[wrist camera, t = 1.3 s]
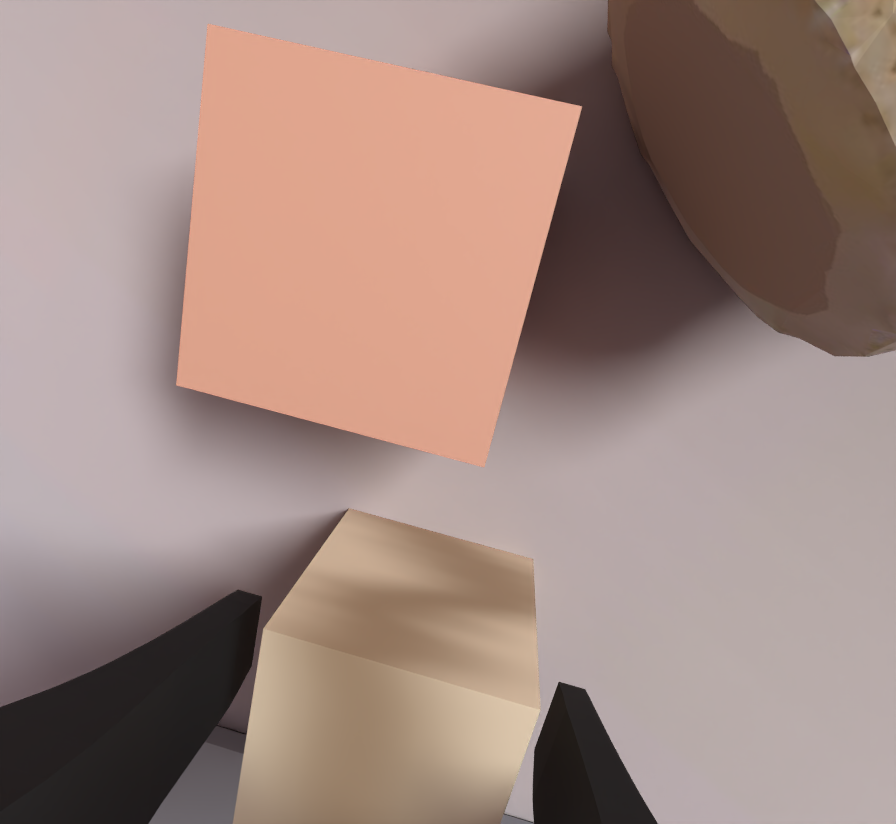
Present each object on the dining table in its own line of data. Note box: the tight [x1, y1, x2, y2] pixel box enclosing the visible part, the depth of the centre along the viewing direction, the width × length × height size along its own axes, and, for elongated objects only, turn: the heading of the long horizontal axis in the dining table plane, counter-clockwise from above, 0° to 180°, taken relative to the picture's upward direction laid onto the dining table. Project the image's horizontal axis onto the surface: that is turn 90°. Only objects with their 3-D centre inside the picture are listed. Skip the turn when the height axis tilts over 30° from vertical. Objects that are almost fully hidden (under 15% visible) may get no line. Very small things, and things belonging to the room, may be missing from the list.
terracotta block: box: [176, 24, 582, 467], centre depth 10 cm, size 5×5×5 cm
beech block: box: [233, 508, 540, 824], centre depth 12 cm, size 5×5×5 cm
